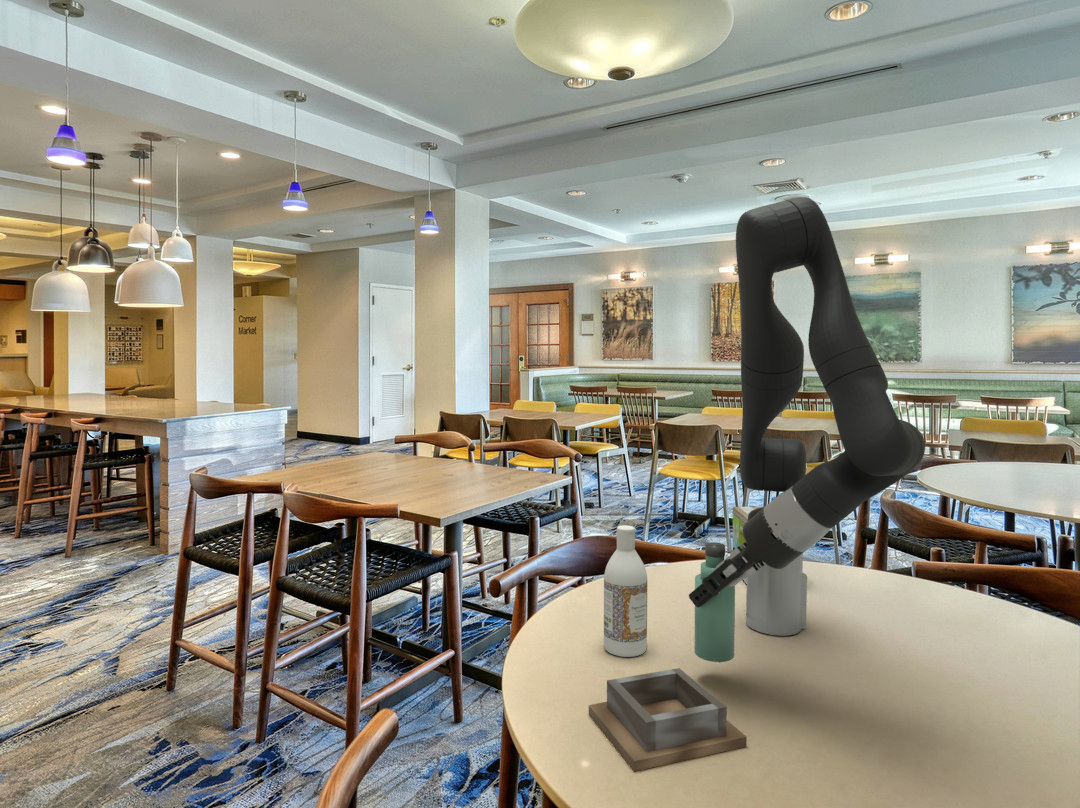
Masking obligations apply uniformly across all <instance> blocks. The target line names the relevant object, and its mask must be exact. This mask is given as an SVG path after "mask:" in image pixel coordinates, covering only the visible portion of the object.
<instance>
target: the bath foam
mask: <svg viewBox="0 0 1080 808" xmlns="http://www.w3.org/2000/svg"><path fill="white" fill-rule="evenodd" d="M635 548H636V528H635V526H633V525H627V524H625V525H618V526H617V527H616V550H615V551H614V552H613V554H612V555H611V557H610V558H609V560H608V562H607V564H606V566H605V570H604V575H603V647H604V649H605V651H607V652H608V653H609V654H612V655H613V656H617V657H623V658H634V657H637V656H641V655H643V654H644V653H645V652H646V651H647V648H648V646H647V645H648V574H647V569H646V567H645V563H644V562H643V560H642V559H641V557H640V555H639V554H638V552H637V550H636V549H635Z"/></svg>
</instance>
